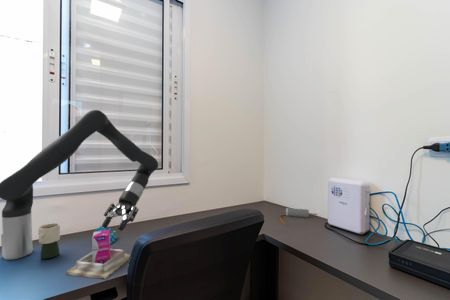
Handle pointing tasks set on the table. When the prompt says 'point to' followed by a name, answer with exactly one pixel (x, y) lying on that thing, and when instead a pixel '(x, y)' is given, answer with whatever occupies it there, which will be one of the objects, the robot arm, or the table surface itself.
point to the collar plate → (99, 265)
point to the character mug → (49, 239)
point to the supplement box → (101, 246)
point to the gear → (110, 233)
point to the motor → (296, 213)
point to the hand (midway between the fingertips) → (111, 228)
